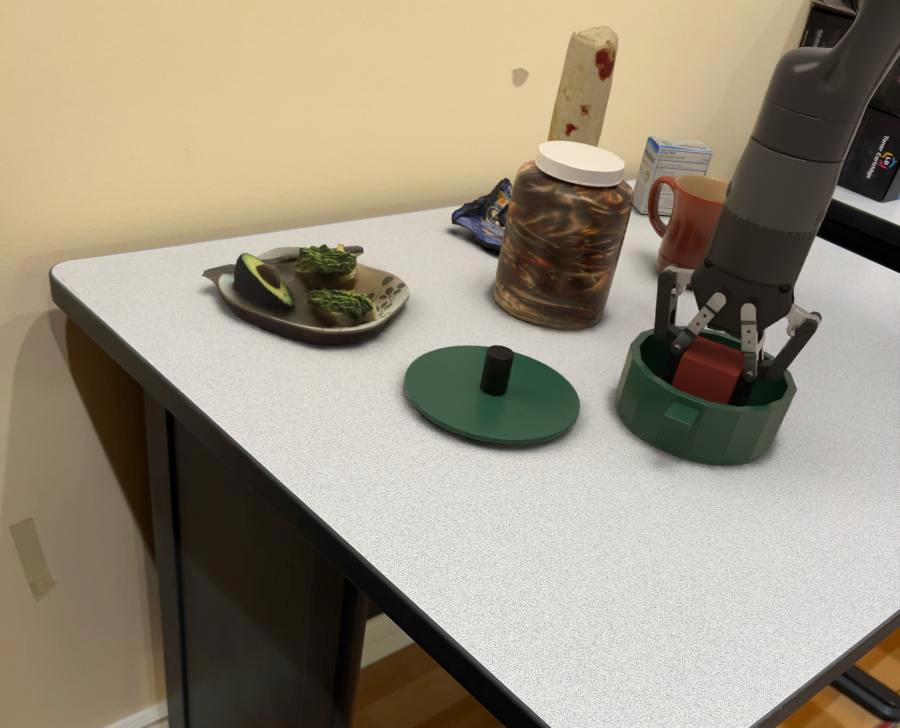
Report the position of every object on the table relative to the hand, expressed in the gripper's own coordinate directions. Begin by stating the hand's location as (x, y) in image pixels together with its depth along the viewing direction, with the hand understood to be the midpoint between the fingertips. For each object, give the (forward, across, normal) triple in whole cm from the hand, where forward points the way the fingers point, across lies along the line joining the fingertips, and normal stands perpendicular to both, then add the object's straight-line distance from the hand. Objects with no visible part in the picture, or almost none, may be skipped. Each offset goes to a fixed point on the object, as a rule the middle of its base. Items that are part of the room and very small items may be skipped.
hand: (699, 399), depth 80 cm
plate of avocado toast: (+2, +38, +6) cm, 39 cm away
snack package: (+2, +32, -25) cm, 41 cm away
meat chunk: (+2, 0, 0) cm, 2 cm away
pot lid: (+1, +16, +10) cm, 19 cm away
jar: (+2, +20, -12) cm, 23 cm away
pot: (+2, 0, 0) cm, 2 cm away
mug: (+2, +12, -32) cm, 34 cm away
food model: (+2, +32, -44) cm, 54 cm away
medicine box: (+2, +20, -52) cm, 56 cm away
